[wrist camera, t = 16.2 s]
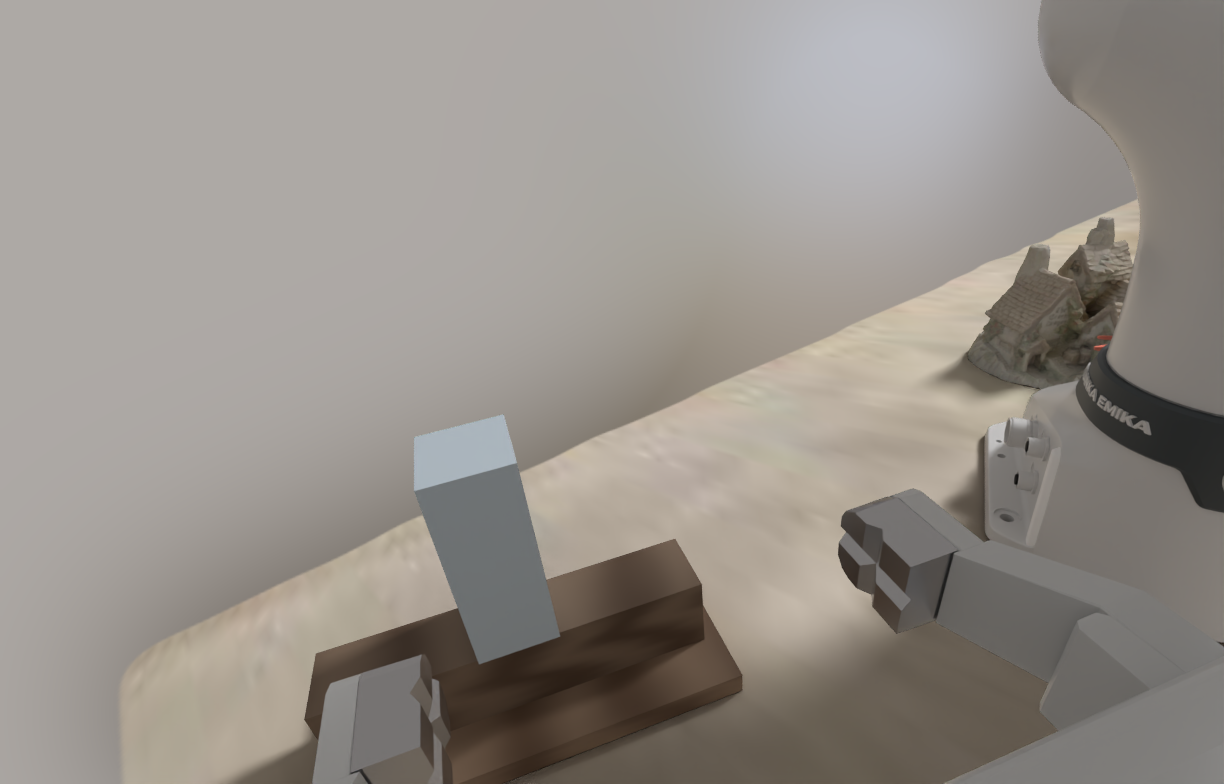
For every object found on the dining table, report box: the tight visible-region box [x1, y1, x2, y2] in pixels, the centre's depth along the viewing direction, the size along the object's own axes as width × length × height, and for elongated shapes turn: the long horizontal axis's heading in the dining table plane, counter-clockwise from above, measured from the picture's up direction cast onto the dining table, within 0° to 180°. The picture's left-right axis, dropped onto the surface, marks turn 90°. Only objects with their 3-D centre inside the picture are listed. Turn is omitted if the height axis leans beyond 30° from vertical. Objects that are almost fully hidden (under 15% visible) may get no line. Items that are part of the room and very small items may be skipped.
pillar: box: [414, 415, 560, 664], centre depth 30 cm, size 4×4×12 cm
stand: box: [304, 539, 742, 784], centre depth 34 cm, size 24×10×6 cm, turn 107°
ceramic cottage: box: [968, 217, 1133, 389], centre depth 56 cm, size 16×16×15 cm
